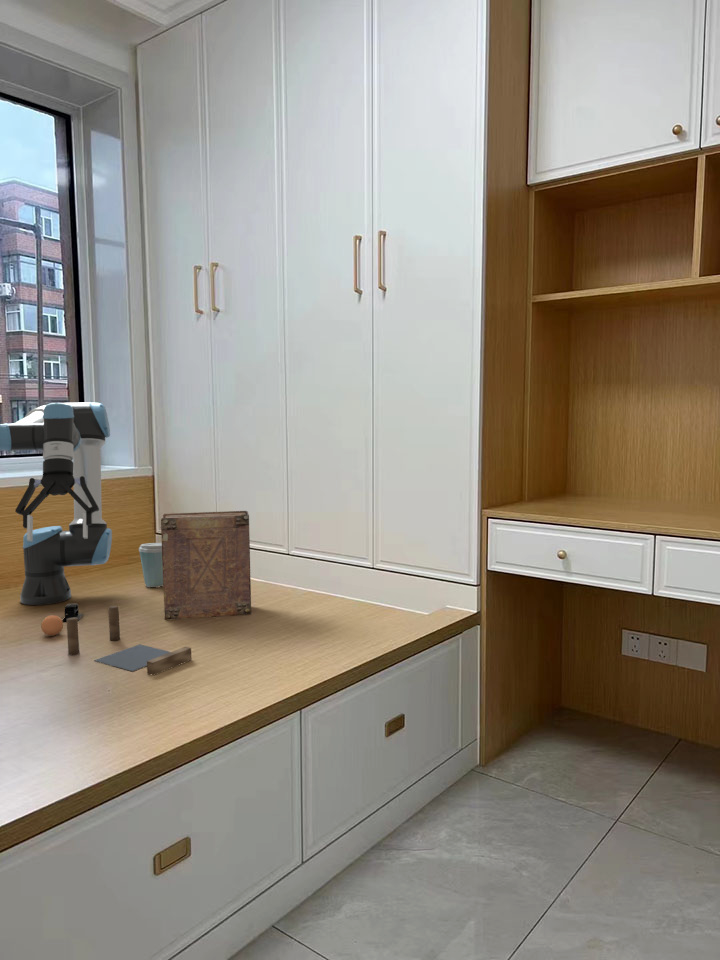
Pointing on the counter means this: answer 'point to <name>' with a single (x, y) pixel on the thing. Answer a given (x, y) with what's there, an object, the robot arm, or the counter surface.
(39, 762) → the counter surface
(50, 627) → the ball
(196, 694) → the counter surface
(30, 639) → the counter surface
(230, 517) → the book
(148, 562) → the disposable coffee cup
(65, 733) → the counter surface
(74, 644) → the outer post
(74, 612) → the black boxy device
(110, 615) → the inner post
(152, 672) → the stopper wall
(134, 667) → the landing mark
